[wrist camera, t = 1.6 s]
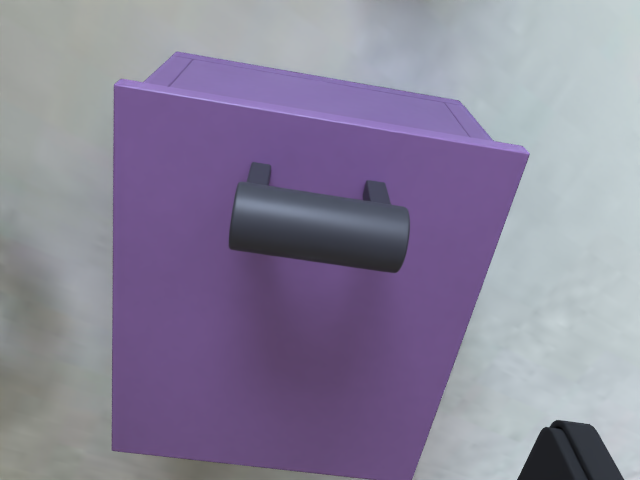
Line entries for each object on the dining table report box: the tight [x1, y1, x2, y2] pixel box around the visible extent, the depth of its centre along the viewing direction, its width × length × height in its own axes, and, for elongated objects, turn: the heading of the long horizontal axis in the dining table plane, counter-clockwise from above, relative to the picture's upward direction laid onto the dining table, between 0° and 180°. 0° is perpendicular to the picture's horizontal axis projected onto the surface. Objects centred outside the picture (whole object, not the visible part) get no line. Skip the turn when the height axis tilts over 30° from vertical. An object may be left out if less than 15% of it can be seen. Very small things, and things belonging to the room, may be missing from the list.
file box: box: [144, 52, 493, 141], centre depth 28 cm, size 16×14×9 cm
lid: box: [112, 79, 530, 480], centre depth 21 cm, size 17×14×5 cm
